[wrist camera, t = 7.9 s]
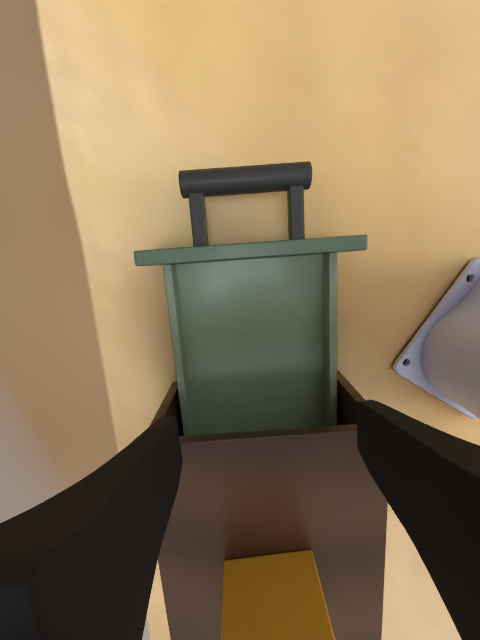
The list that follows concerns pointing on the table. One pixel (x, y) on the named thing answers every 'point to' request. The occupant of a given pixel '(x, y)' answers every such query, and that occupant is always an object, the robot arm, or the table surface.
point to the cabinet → (275, 518)
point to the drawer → (253, 312)
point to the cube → (274, 599)
